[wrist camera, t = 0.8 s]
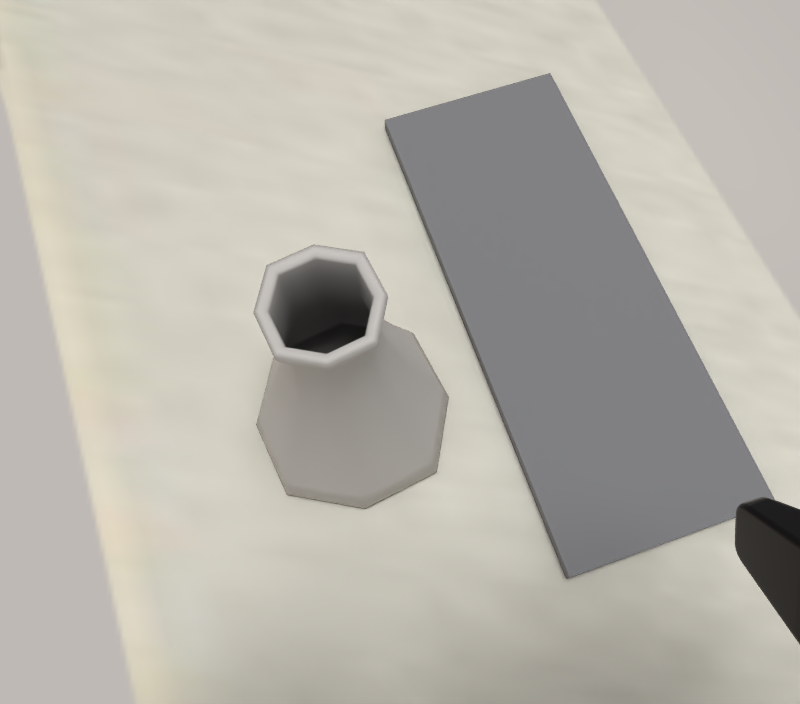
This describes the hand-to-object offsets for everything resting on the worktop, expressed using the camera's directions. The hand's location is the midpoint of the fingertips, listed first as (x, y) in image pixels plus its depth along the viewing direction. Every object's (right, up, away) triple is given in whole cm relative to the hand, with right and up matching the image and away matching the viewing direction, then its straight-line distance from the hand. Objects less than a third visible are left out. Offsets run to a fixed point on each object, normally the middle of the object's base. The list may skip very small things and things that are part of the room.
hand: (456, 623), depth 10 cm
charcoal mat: (+5, +6, +17) cm, 19 cm away
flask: (-3, +1, +16) cm, 16 cm away
